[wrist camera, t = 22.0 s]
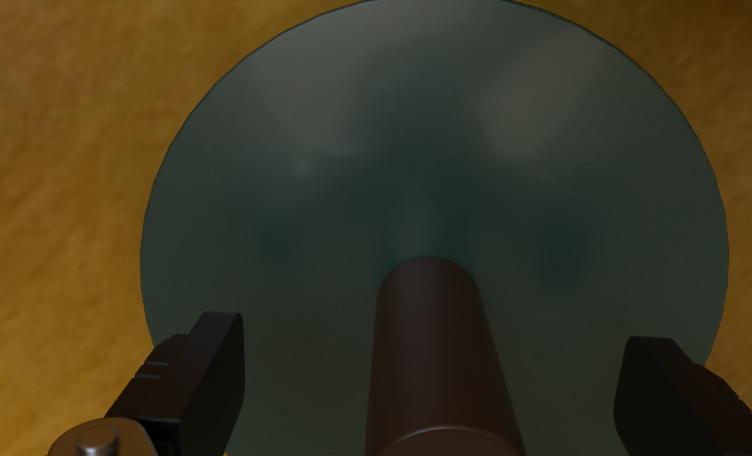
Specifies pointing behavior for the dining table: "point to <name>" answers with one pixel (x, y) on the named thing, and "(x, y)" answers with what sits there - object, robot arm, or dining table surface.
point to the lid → (436, 231)
